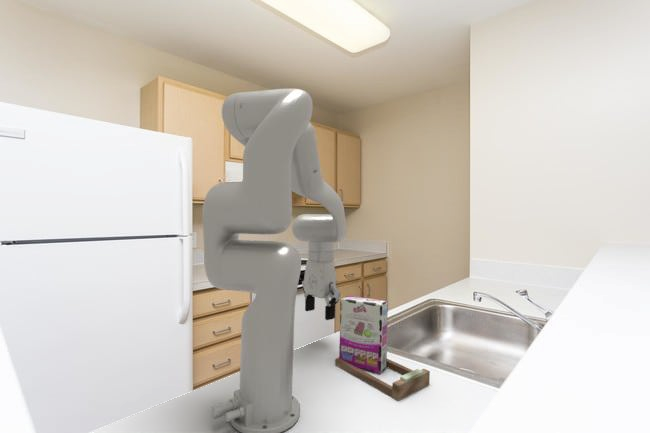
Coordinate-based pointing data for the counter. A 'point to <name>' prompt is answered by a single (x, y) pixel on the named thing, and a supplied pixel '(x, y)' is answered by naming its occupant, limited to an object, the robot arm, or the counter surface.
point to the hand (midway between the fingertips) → (319, 314)
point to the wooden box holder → (400, 388)
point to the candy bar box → (364, 333)
